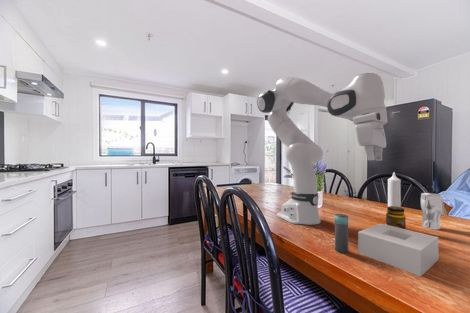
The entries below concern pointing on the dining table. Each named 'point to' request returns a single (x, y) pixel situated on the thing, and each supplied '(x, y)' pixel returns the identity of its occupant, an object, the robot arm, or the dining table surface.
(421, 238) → the socket block
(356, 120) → the robot arm
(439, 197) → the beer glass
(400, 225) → the condiment
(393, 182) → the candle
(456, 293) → the dining table surface
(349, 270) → the dining table surface
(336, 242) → the dark gray rectangular block
